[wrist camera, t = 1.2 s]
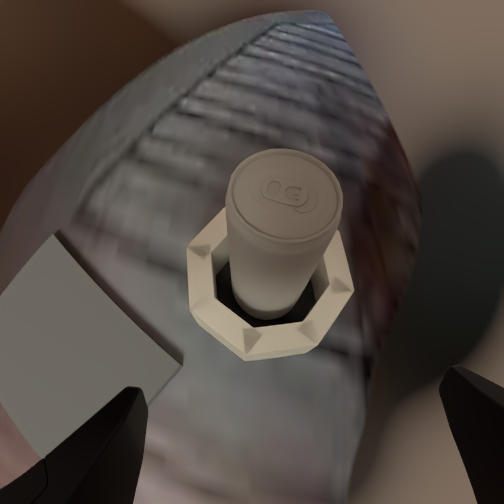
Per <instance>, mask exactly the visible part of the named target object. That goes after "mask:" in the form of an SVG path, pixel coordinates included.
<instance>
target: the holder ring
mask: <svg viewBox="0 0 504 504" xmlns="http://www.w3.org/2000/svg"><path fill="white" fill-rule="evenodd" d="M186 247H187V269H188V288H189V304H190V312H191V313H192V315H193V316H194V318H195V320H196V321H197V323H198V324H199V325H200V326H201V327H202V328H204V329H205V330H206V331H207V332H208V333H210V334H211V335H212V336H213V337H215V338H216V339H217V340H218V341H220V342H221V343H222V344H223V345H225V346H226V347H227V348H229V349H230V350H231V351H232V352H234V353H235V354H236V355H238V356H239V357H240V358H241V359H243V360H244V361H245V362H246V361H253V360H261V359H269V358H277V357H284V356H290V355H297V354H303V353H304V354H305V353H306V352H308V351H309V350H311V349H313V348H314V347H316V346H317V345H318V344H319V343H320V341H321V340H322V338H323V337H324V335H325V334H326V333H327V331H328V330H329V328H330V327H331V325H332V324H333V322H334V321H335V319H336V318H337V316H338V315H339V313H340V312H341V310H342V309H343V307H344V306H345V304H346V303H347V301H348V299H349V298H350V296H351V295H352V293H353V292H354V287H353V283H352V279H351V275H350V271H349V267H348V263H347V259H346V255H345V251H344V247H343V243H342V240H341V236H340V232H339V231H338V230H336V232H335V234H334V236H333V238H332V240H331V242H330V244H329V245H328V247H327V249H326V251H325V253H324V255H323V256H322V258H321V260H320V262H319V264H318V265H317V267H316V269H315V271H314V273H313V274H312V276H311V281H312V286H313V291H314V296H315V301H316V303H315V304H314V306H313V307H312V308H311V310H310V311H309V313H308V314H307V315H306V317H305V318H304V320H303V321H302V322H296V323H288V324H281V325H273V326H265V327H257V328H253V327H252V326H251V325H249V324H248V323H247V322H245V321H244V320H243V319H241V318H240V317H239V316H237V315H236V314H235V313H234V312H232V311H231V310H230V309H228V308H227V307H226V306H225V305H223V304H222V303H221V302H219V301H218V298H217V287H216V275H217V274H218V273H219V271H220V270H221V269H222V268H223V267H224V266H225V265H226V264H227V262H228V261H229V260H230V259H229V247H228V235H227V222H226V207H224V208H223V209H222V210H221V211H220V212H219V213H218V214H217V215H216V216H215V217H214V218H213V219H212V220H211V221H210V223H209V224H208V225H207V226H206V227H205V228H204V229H203V230H202V231H201V232H200V233H199V234H198V235H197V236H196V237H195V238H194V239H193V240H192V241H191V242H190V243H189V244H188V245H187V246H186Z"/></svg>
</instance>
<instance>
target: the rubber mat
mask: <svg viewBox="0 0 504 504" xmlns="http://www.w3.org/2000/svg"><path fill="white" fill-rule="evenodd" d="M182 367H183V366H182V365H181V364H180V363H179V362H177V361H176V360H175V359H174V358H173V357H172V356H171V355H169V354H168V353H167V352H166V351H165V350H164V349H163V348H162V347H160V346H159V345H158V344H157V343H156V342H155V341H154V340H153V339H152V338H151V337H150V336H149V335H147V334H146V333H145V332H144V331H143V330H142V329H141V328H140V327H139V326H138V325H137V324H136V323H135V322H134V321H133V320H132V319H131V318H130V317H129V316H128V315H127V314H126V313H125V312H124V311H123V310H122V309H121V308H120V307H119V306H118V305H117V304H116V303H115V302H114V301H113V300H112V299H111V298H110V297H109V296H108V295H107V294H106V293H105V292H104V291H103V290H102V289H101V288H100V287H99V286H98V284H97V283H96V282H95V281H94V280H93V279H92V278H91V277H90V276H89V275H88V274H87V272H86V271H85V270H84V269H83V268H82V267H81V266H80V265H79V263H78V262H77V261H76V260H75V259H74V258H73V257H72V255H71V254H70V253H69V252H68V251H67V250H66V248H65V247H64V246H63V245H62V244H61V242H60V241H59V240H58V239H57V238H56V237H55V236H54V235H53V234H52V235H51V236H50V237H49V238H48V239H47V240H46V241H45V243H44V244H43V245H42V246H41V247H40V248H39V249H38V250H37V252H36V253H35V254H34V255H33V256H32V257H31V259H30V260H29V261H28V262H27V263H26V264H25V266H24V267H23V268H22V269H21V270H20V272H19V273H18V274H17V275H16V277H15V278H14V279H13V280H12V282H11V283H10V284H9V285H8V287H7V288H6V289H5V291H4V292H3V293H2V295H1V296H0V403H1V404H2V406H3V407H4V409H5V410H6V412H7V413H8V415H9V416H10V418H11V419H12V421H13V422H14V424H15V425H16V427H17V428H18V429H19V431H20V432H21V433H22V435H23V436H24V437H25V439H26V440H27V441H28V443H29V444H30V445H31V447H32V448H33V449H34V450H35V452H36V453H37V454H38V455H39V457H40V458H41V459H42V458H45V456H46V455H47V454H48V453H50V452H51V451H52V450H53V449H54V448H55V447H57V446H58V445H59V444H60V443H61V442H63V441H64V440H65V439H66V438H67V437H68V436H70V435H71V434H72V433H73V432H74V431H75V430H77V429H78V428H79V427H80V426H81V425H82V424H84V423H85V422H86V421H87V420H88V419H89V418H91V417H92V416H93V415H94V414H95V413H96V412H97V411H99V410H100V409H101V408H102V407H103V406H104V405H106V404H107V403H108V402H109V401H110V400H111V399H112V398H114V397H115V396H116V395H117V394H118V393H119V392H120V391H122V390H123V389H124V388H125V387H127V386H133V387H140V388H141V389H142V390H143V393H144V396H145V400H146V403H147V406H149V405H150V403H151V402H152V401H153V400H154V399H155V398H156V397H157V395H158V394H159V393H160V392H161V391H162V390H163V389H164V387H165V386H166V385H167V384H168V383H169V382H170V380H171V379H172V378H173V377H174V376H175V375H176V374H177V372H178V371H179V370H180V369H181V368H182Z"/></svg>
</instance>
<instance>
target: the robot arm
mask: <svg viewBox="0 0 504 504" xmlns="http://www.w3.org/2000/svg"><path fill="white" fill-rule="evenodd" d="M439 394H440V397H441V400H442V403H443V406H444V410H445V413H446V416H447V419H448V423H449V426H450V429H451V432H452V434H453V437H454V440H455V442H456V445H457V447H458V450H459V452H460V455H461V458H462V460H463V463H464V466H465V468H466V471H467V474H468V477H469V479H470V483H471V485H472V488H473V491H474V494H475V498H476V500H477V503H478V504H504V388H503V387H501V386H499V385H497V384H495V383H493V382H491V381H489V380H487V379H486V378H484V377H482V376H480V375H478V374H476V373H474V372H472V371H470V370H468V369H466V368H464V367H463V366H461V365H456V366H451V367H449V368H448V369H447V370H446V372H445V375H444V377H443V379H442V381H441V384H440V386H439ZM147 419H148V406H147V403H146V400H145V396H144V393H143V390H142V389H141V388H140V387H133V386H127V387H125V388H124V389H123V390H122V391H120V392H119V393H118V394H117V395H116V396H115V397H114V398H112V399H111V400H110V401H109V402H108V403H107V404H106V405H104V406H103V407H102V408H101V409H100V410H99V411H97V412H96V413H95V414H94V415H93V416H92V417H91V418H89V419H88V420H87V421H86V422H85V423H84V424H82V425H81V426H80V427H79V428H78V429H77V430H75V431H74V432H73V433H72V434H71V435H70V436H68V437H67V438H66V439H65V440H64V441H63V442H61V443H60V444H59V445H58V446H57V447H55V448H54V449H53V450H52V451H51V452H50V453H48V454H47V455H46V456H45V458H42V459H41V460H40V461H39V462H38V463H36V464H35V465H34V466H33V467H31V468H30V469H29V470H28V471H26V472H25V473H24V474H22V475H21V476H20V477H18V478H17V479H15V480H14V481H12V482H11V483H9V484H8V485H6V486H5V487H3V488H1V489H0V504H133V501H134V496H135V492H136V487H137V483H138V478H139V474H140V470H141V466H142V461H143V453H144V444H145V436H146V427H147Z"/></svg>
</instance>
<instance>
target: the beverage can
mask: <svg viewBox="0 0 504 504" xmlns="http://www.w3.org/2000/svg"><path fill="white" fill-rule="evenodd" d="M225 207H226V222H227V235H228V247H229V259H230V270H231V281H232V290H233V294H234V297H235V300H236V301H237V303H238V304H239V306H240V307H241V308H242V309H243V310H244V311H245V312H246V313H247V314H249V315H251V316H253V317H254V318H257V319H262V320H272V319H276V318H279V317H282V316H284V315H285V314H287V313H288V312H289V311H290V310H291V309H292V308H293V307H294V305H295V304H296V302H297V301H298V299H299V297H300V296H301V294H302V292H303V290H304V289H305V287H306V285H307V283H308V282H309V280H310V278H311V276H312V274H313V273H314V271H315V269H316V267H317V265H318V264H319V262H320V260H321V258H322V256H323V255H324V253H325V251H326V249H327V247H328V245H329V244H330V242H331V240H332V238H333V236H334V234H335V232H336V230H337V228H338V225H339V222H340V219H341V211H342V208H343V194H342V190H341V187H340V183H339V182H338V180H337V178H336V177H335V175H334V173H333V172H332V171H331V170H330V169H329V168H328V167H327V166H326V165H325V164H324V163H323V162H321V161H320V160H318V159H316V158H315V157H313V156H311V155H309V154H306V153H304V152H301V151H297V150H292V149H269V150H264V151H260V152H257V153H255V154H253V155H251V156H249V157H247V158H246V159H245V160H244V161H242V162H241V163H240V164H239V165H238V166H237V167H236V169H235V170H234V172H233V173H232V175H231V178H230V181H229V185H228V189H227V193H226V196H225Z"/></svg>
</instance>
